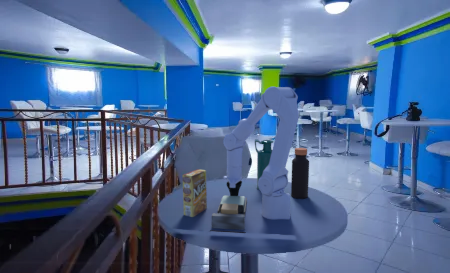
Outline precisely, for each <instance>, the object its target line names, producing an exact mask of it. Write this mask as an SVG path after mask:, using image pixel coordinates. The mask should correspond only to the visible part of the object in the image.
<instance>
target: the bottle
mask: <svg viewBox="0 0 450 273" xmlns="http://www.w3.org/2000/svg"><path fill="white" fill-rule="evenodd" d="M307 156H308V148H305V147H295V148H294V157H293V159H292V160H291V185H290V188H291V189H290V194H291V195H290V197H292V198H294V199H297V200H298V199H299V200H300V199H301V200H303V199H307V198H308V197H309V183H310V182H309V181H310V180H309V176H310V161H309V159H308V158H307Z"/></svg>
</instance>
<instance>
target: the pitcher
mask: <svg viewBox="0 0 450 273" xmlns="http://www.w3.org/2000/svg"><path fill="white" fill-rule="evenodd" d="M257 143H258V144H260V145H263V146H262V149H258V147H257ZM272 144H274V140H271V139H263V140H261V141H260V140H259V139H257V138H256V139H254V149H255V151H256V153H257V154H256V156H257V160H256V161H257V162H256V163H257V164H256V165H257V167H256V169H257V170H256V189H257V190H259V187H258V180H259V178H260V177H261V176H262V174H263V171H264V170H265V168H266V167H267V166H268V165H269V162H270V158H271V154H272V150H273V148H272ZM259 191H260V190H259Z"/></svg>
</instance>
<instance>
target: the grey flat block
mask: <svg viewBox="0 0 450 273" xmlns="http://www.w3.org/2000/svg"><path fill="white" fill-rule="evenodd" d="M222 197H223V198H222ZM222 197H221V200H222V201H221V200H220V202H221V203H220V202H219V205H220V212H219V214H221V208H222V205H223V203H226V204H238V214H241V215H244V207H245V200H246V197H245V196H244V195H242V196H241V195H238V196H230V195H223V196H222Z"/></svg>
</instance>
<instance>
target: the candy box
mask: <svg viewBox="0 0 450 273" xmlns="http://www.w3.org/2000/svg"><path fill="white" fill-rule="evenodd" d="M207 196H208V194H207V170H205V169H199V168H196V169H195V170H191V171H188V172H186V173H183V174H182V200H183V201H182V202H183V204H182V205H183V216H186V217H190V218H195V217H197V215H199V214H200V213H202V212H204V211H205V210H207V209H208V201H207V200H208V198H207Z"/></svg>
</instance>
